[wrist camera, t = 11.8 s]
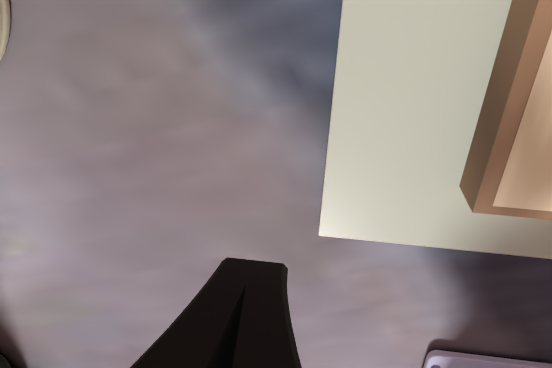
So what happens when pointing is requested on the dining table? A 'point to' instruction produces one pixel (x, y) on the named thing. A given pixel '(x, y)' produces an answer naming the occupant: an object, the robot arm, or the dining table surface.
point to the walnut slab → (515, 121)
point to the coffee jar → (4, 362)
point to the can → (4, 25)
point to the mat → (415, 127)
